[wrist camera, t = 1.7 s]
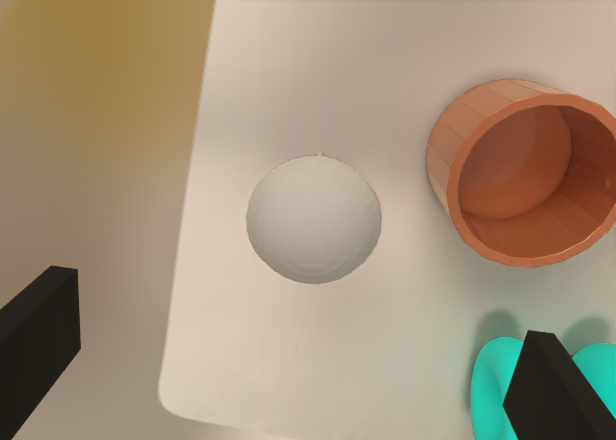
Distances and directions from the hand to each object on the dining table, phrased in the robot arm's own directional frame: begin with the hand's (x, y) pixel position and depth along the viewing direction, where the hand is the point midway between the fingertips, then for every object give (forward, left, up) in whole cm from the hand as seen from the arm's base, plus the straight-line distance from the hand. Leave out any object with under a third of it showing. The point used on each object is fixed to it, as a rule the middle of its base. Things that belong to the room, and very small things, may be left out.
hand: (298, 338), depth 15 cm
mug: (-10, +9, -21) cm, 25 cm away
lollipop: (0, 0, -21) cm, 21 cm away
